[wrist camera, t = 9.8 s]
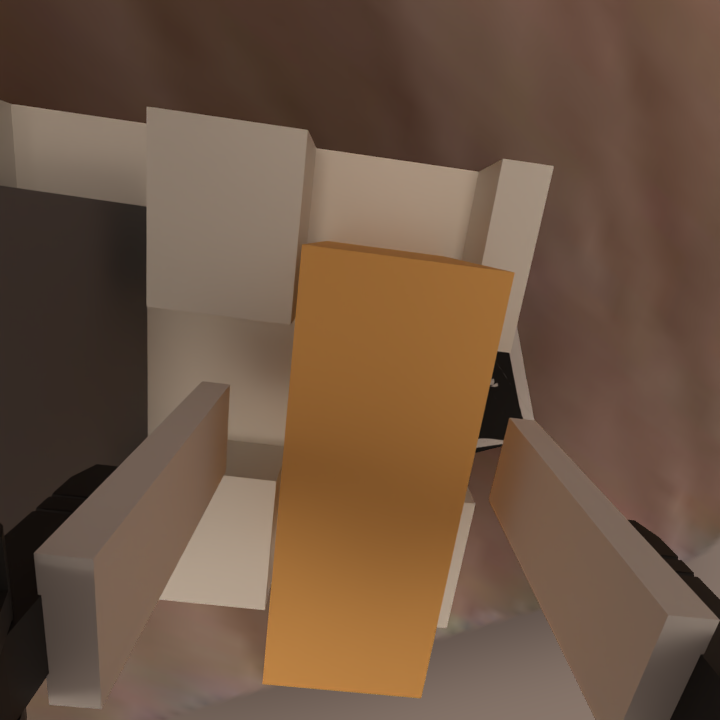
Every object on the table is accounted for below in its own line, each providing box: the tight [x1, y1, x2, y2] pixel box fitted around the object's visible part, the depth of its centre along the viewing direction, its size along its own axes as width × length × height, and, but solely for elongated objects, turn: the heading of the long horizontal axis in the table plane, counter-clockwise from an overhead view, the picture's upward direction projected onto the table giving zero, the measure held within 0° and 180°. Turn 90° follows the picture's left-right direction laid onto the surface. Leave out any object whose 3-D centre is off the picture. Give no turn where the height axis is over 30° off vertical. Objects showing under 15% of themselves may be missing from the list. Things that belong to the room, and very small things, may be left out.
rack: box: [0, 100, 554, 628], centre depth 17 cm, size 18×20×4 cm
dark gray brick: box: [0, 186, 148, 536], centre depth 14 cm, size 12×4×8 cm, turn 173°
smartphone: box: [475, 327, 534, 453], centre depth 20 cm, size 8×1×15 cm
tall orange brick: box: [263, 241, 515, 698], centre depth 15 cm, size 12×4×8 cm, turn 173°
